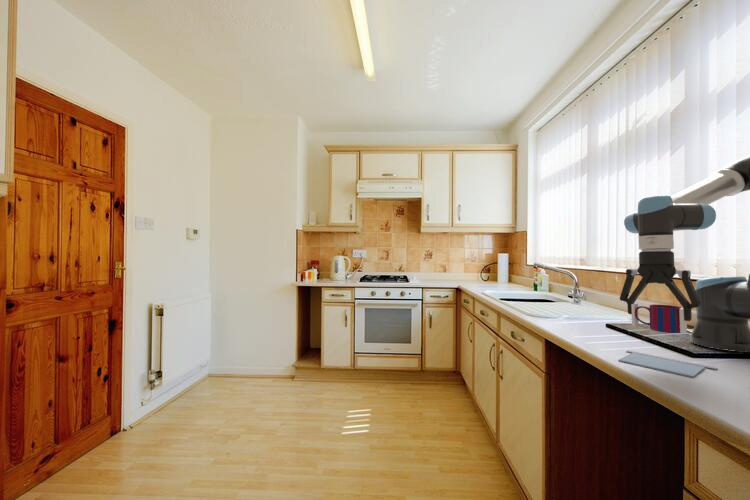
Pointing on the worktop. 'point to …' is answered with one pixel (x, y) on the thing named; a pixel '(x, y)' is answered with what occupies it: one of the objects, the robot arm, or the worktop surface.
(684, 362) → the line strip
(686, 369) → the mat
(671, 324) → the mug
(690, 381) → the worktop surface
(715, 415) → the worktop surface
